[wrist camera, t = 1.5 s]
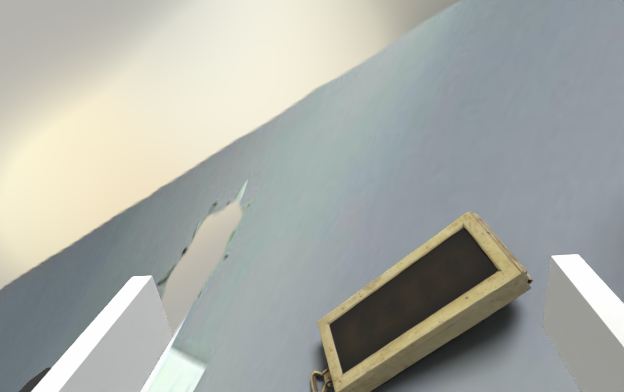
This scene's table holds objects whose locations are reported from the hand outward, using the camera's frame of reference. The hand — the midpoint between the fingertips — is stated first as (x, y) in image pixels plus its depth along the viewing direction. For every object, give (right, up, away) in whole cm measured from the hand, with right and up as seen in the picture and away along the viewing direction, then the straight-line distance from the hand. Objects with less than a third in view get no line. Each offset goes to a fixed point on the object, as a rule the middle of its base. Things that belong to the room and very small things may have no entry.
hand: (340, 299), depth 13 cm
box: (+9, -9, +25) cm, 28 cm away
